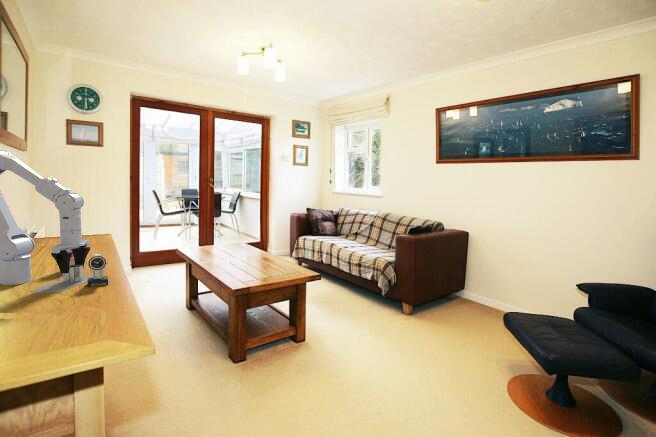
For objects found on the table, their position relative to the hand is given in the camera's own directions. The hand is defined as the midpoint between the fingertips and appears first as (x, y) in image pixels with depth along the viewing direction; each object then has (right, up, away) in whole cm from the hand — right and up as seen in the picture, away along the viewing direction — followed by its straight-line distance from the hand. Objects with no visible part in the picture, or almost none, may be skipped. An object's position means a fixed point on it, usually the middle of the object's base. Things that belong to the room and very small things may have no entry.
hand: (72, 270), depth 119 cm
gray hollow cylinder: (0, -3, 0) cm, 3 cm away
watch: (+10, -5, -3) cm, 12 cm away
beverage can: (-11, -3, +16) cm, 20 cm away
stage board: (0, -5, -3) cm, 6 cm away
